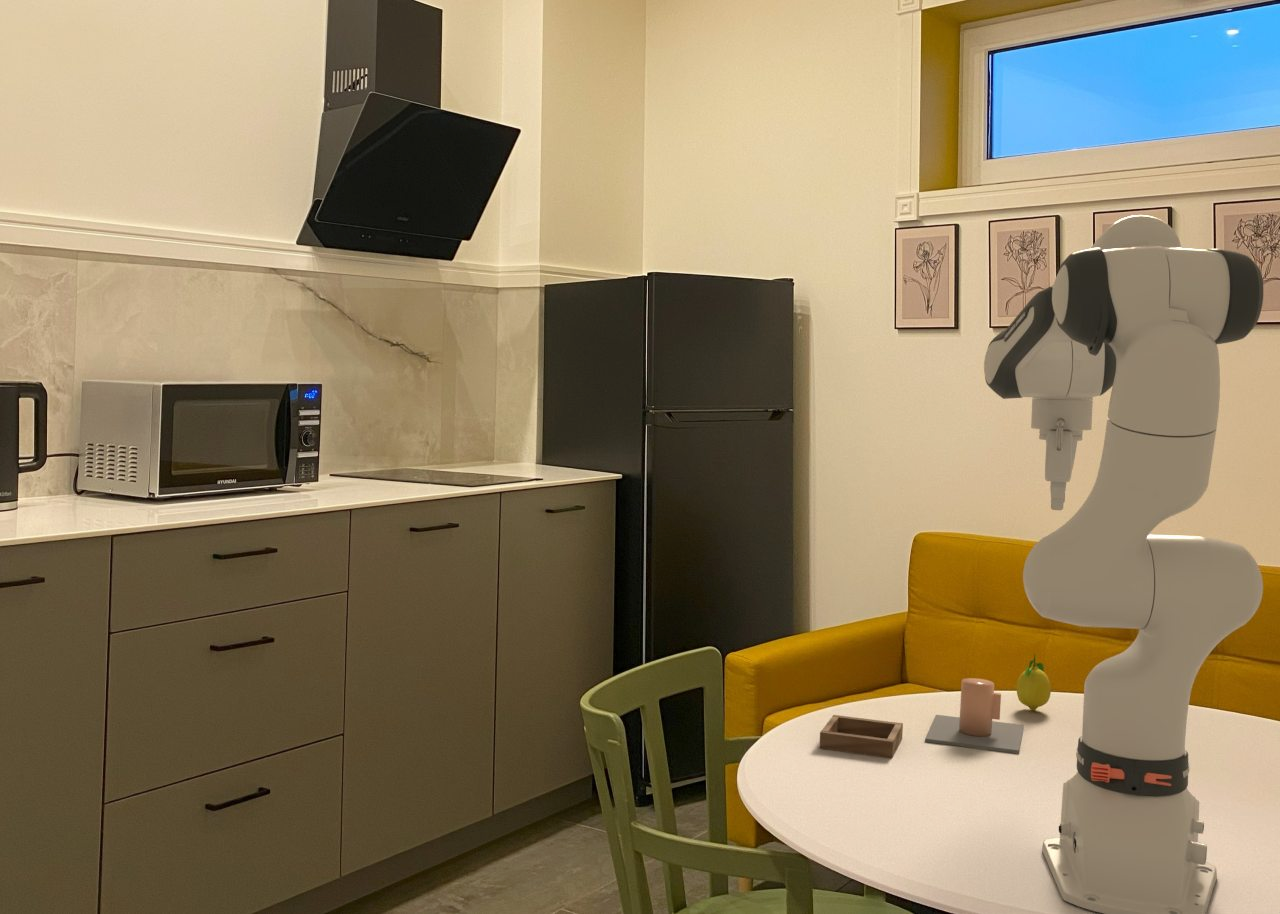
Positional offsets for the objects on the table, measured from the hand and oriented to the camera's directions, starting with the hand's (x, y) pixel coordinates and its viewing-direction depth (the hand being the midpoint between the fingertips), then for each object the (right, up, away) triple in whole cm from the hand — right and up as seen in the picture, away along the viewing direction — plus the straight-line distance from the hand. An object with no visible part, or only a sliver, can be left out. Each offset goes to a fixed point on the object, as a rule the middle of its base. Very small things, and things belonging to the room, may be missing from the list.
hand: (1057, 506), depth 178 cm
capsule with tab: (-12, -36, +4) cm, 38 cm away
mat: (-11, -37, +5) cm, 39 cm away
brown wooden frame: (-31, -37, -1) cm, 48 cm away
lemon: (+3, -36, +18) cm, 41 cm away
